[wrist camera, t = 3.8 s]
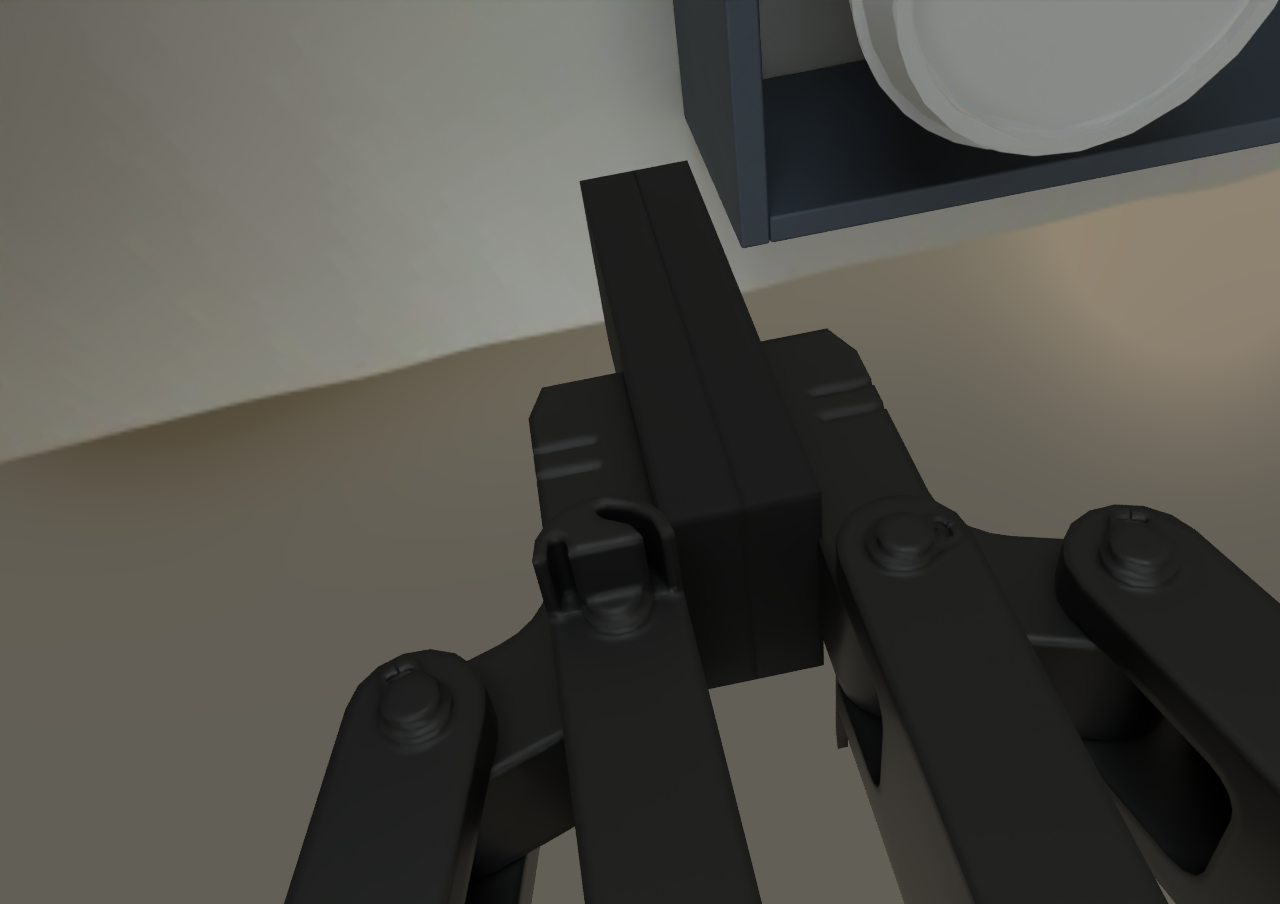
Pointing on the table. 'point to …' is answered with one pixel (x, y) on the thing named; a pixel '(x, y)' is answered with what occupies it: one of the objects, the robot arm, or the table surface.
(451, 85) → the table surface
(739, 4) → the bin
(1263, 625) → the robot arm
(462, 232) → the table surface
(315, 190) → the table surface
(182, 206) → the table surface
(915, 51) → the disposable coffee cup
